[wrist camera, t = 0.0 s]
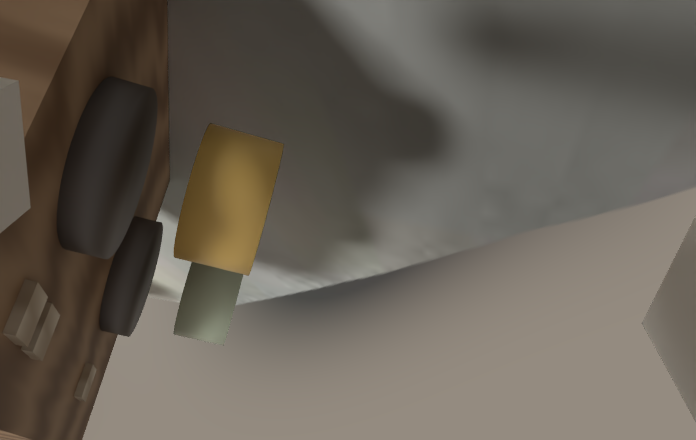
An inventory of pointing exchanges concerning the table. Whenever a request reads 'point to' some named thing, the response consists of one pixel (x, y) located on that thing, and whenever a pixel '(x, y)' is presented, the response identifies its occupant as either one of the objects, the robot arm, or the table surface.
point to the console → (79, 201)
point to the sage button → (207, 303)
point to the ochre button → (227, 199)
